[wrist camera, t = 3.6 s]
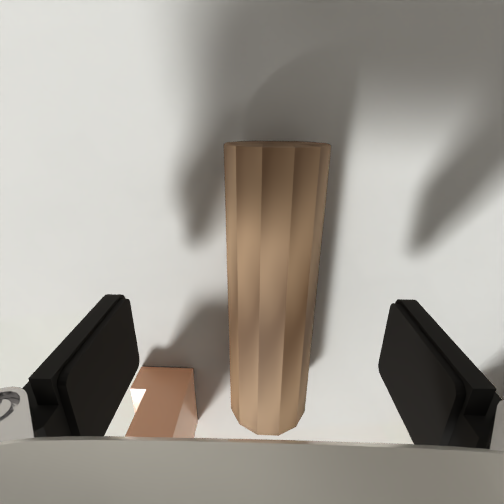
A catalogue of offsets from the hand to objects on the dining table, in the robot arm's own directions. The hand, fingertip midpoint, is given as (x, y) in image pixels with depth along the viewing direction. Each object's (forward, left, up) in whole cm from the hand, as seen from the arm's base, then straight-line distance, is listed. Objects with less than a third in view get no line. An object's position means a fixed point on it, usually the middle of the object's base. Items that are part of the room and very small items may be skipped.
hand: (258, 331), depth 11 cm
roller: (0, 0, -2) cm, 2 cm away
